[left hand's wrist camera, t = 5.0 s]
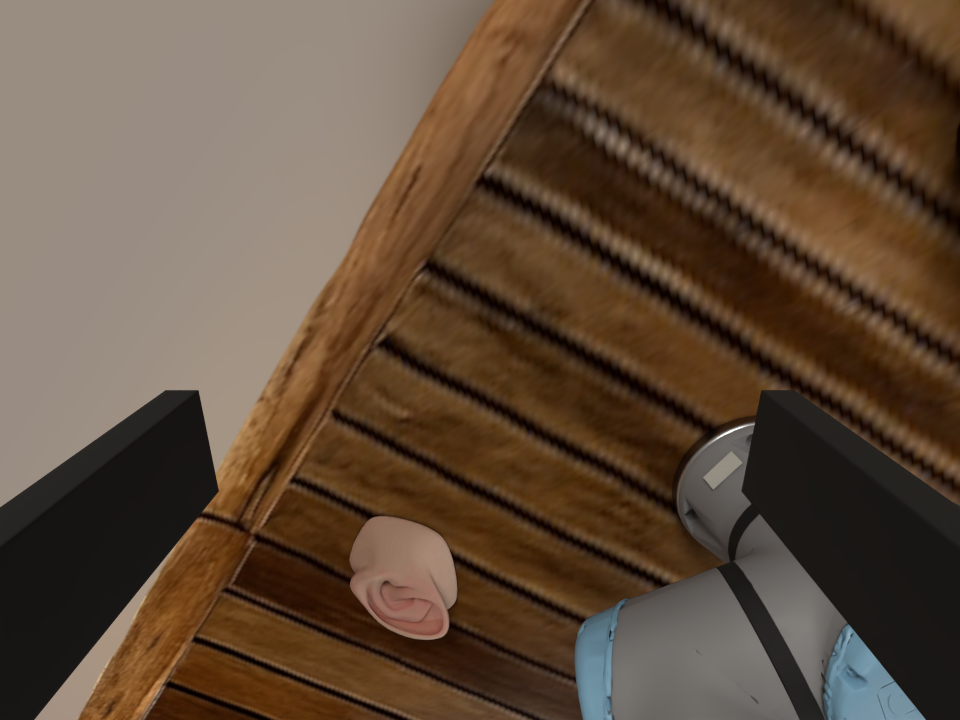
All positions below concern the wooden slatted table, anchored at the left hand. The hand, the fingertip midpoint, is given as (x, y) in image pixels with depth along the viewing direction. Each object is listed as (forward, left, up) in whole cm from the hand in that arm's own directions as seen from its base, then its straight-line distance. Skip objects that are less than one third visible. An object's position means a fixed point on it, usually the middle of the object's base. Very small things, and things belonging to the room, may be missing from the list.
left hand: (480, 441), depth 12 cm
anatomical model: (-9, +34, -34) cm, 49 cm away
